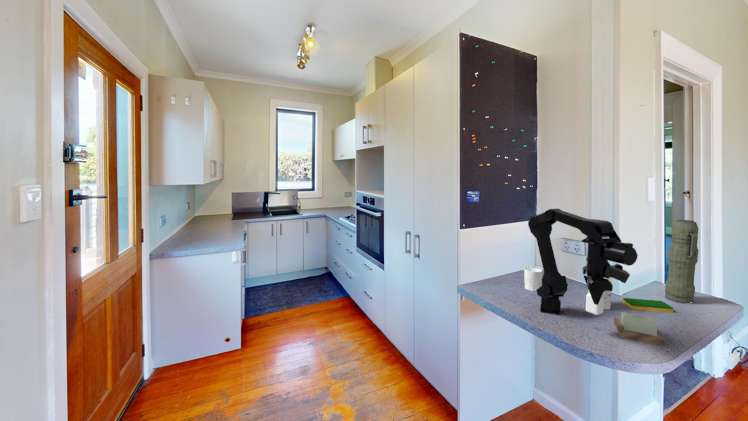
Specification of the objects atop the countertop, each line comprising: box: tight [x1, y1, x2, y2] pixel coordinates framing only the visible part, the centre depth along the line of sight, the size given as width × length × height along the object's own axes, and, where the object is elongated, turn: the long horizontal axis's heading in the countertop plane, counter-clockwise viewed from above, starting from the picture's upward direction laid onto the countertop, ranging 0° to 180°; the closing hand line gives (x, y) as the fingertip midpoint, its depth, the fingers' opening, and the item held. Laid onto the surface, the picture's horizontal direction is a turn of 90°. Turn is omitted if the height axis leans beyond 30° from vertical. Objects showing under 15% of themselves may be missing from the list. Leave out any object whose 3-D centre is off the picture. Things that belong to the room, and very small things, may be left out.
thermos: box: [664, 219, 699, 304], centre depth 126 cm, size 9×12×35 cm
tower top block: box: [620, 311, 658, 336], centre depth 101 cm, size 8×8×3 cm
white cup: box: [523, 266, 543, 292], centre depth 143 cm, size 8×8×10 cm
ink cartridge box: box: [587, 277, 613, 310], centre depth 123 cm, size 9×5×15 cm, turn 168°
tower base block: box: [613, 316, 665, 347], centre depth 101 cm, size 11×11×3 cm
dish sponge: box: [622, 297, 674, 313], centre depth 122 cm, size 7×14×2 cm, turn 74°
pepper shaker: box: [585, 293, 604, 316], centre depth 101 cm, size 4×4×10 cm
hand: (594, 301), depth 102 cm, fingers closed on pepper shaker, 5 cm apart
